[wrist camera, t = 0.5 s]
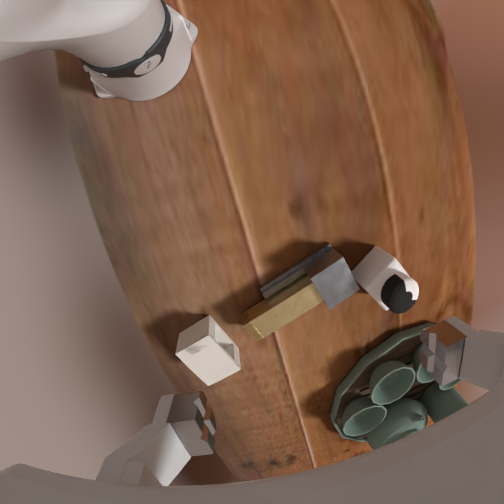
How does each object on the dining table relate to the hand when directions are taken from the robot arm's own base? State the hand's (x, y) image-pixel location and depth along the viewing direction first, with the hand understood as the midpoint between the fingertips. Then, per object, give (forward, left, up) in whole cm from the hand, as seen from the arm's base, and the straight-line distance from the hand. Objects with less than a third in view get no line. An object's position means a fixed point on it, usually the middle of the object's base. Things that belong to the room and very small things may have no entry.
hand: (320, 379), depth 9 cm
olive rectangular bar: (+17, -3, -37) cm, 41 cm away
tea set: (+60, +8, -39) cm, 72 cm away
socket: (+17, -19, -39) cm, 46 cm away
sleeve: (+17, +2, -39) cm, 42 cm away
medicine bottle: (+23, +13, -39) cm, 47 cm away
